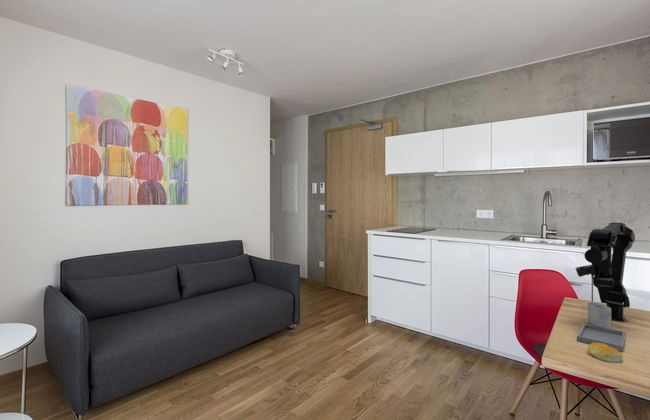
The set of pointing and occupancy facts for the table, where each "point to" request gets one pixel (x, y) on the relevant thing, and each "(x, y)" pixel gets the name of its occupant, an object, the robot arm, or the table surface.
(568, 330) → the table surface
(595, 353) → the bread roll
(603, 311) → the medicine box
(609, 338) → the tray
